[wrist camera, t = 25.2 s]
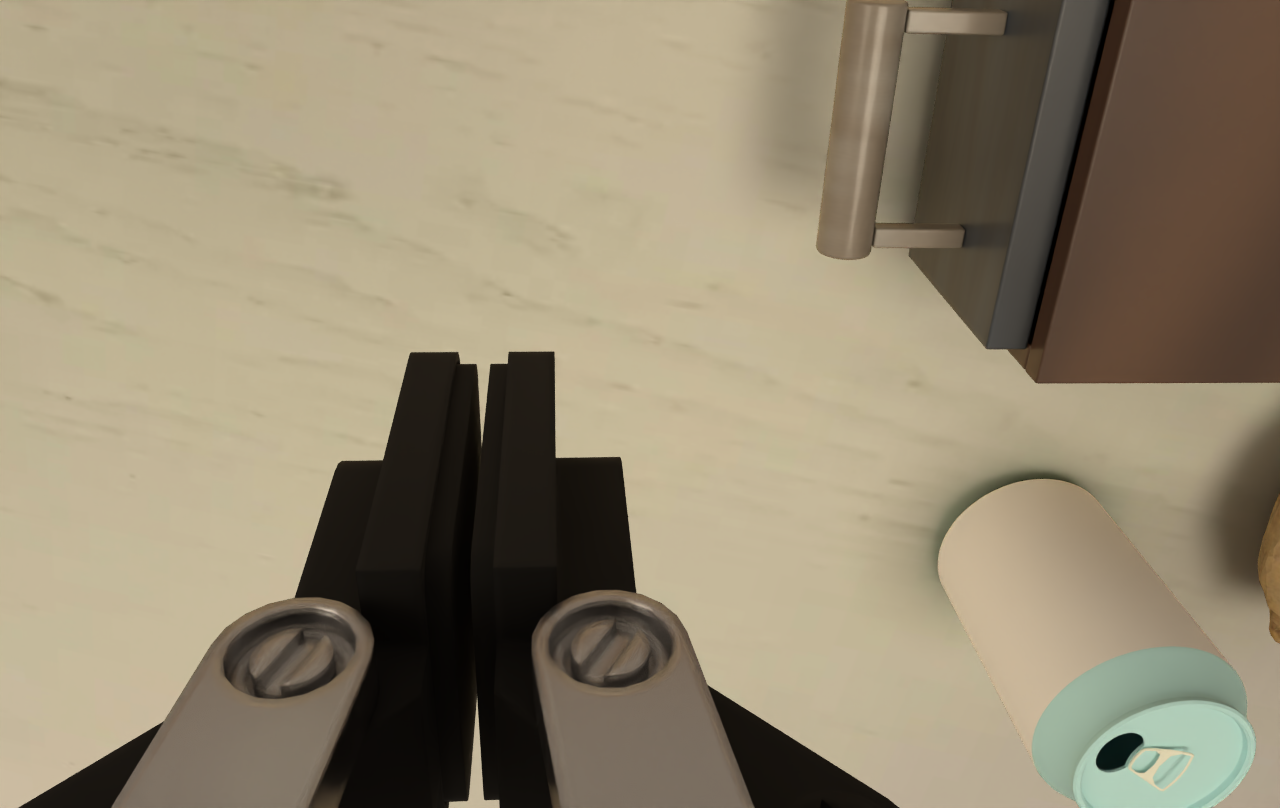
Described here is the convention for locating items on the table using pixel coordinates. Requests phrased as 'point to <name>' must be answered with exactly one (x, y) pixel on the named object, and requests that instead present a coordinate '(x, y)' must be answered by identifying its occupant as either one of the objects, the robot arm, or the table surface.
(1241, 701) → the can
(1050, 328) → the cabinet
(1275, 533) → the oil lamp
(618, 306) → the table surface
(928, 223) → the drawer
